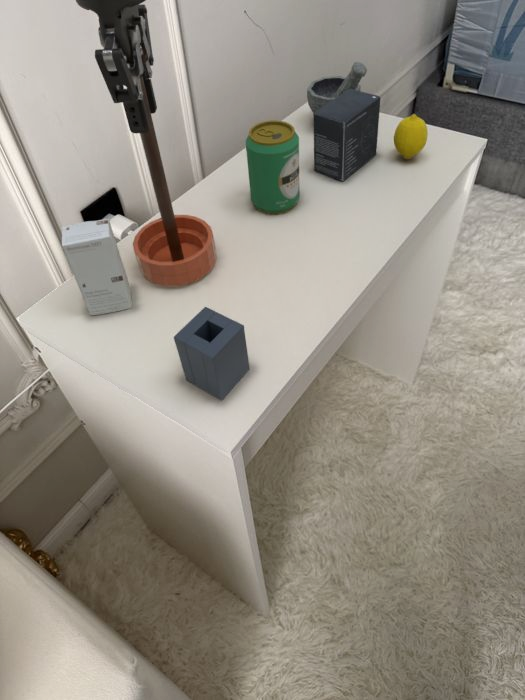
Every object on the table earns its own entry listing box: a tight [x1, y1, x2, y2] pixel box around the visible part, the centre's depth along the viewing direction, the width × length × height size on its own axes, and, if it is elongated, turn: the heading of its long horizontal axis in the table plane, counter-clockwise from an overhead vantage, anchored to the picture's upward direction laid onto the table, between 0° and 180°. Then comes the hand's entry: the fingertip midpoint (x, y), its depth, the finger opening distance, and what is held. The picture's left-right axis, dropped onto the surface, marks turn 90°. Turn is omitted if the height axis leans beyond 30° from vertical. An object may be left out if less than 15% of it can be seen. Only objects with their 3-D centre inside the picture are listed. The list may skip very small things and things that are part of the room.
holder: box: [173, 306, 251, 402], centre depth 61 cm, size 6×6×8 cm
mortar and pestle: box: [306, 61, 368, 114], centre depth 97 cm, size 11×9×12 cm
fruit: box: [393, 113, 429, 160], centre depth 89 cm, size 6×6×8 cm
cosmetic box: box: [61, 218, 133, 316], centre depth 69 cm, size 6×4×12 cm
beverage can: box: [245, 119, 300, 215], centre depth 82 cm, size 8×8×12 cm
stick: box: [139, 75, 184, 262], centre depth 68 cm, size 2×2×26 cm
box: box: [312, 89, 381, 182], centre depth 89 cm, size 11×7×10 cm, turn 139°
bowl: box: [132, 214, 217, 287], centre depth 76 cm, size 11×11×4 cm
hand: (144, 121), depth 61 cm, fingers open, 4 cm apart
